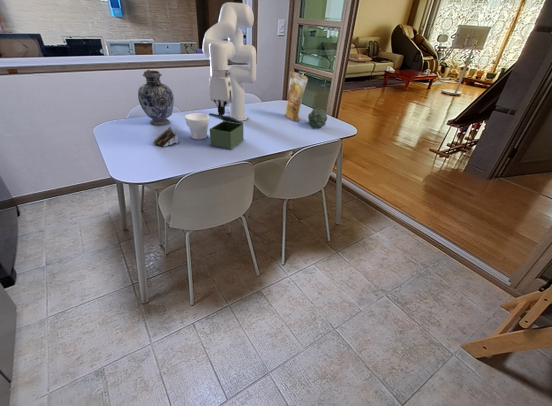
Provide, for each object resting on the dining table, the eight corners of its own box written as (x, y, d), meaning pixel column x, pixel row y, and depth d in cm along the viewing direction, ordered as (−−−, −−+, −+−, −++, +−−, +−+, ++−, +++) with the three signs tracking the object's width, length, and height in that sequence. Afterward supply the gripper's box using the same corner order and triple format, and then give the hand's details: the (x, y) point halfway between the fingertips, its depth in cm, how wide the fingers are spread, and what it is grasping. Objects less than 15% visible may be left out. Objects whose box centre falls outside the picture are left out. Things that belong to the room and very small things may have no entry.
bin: (231, 149, 144) (230, 133, 139) (210, 145, 147) (209, 128, 142) (243, 140, 156) (243, 124, 151) (224, 136, 159) (223, 120, 154)
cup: (185, 133, 159) (183, 113, 152) (208, 131, 163) (206, 112, 157) (189, 141, 149) (186, 120, 143) (213, 139, 154) (211, 119, 148)
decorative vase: (181, 125, 168) (175, 74, 153) (148, 130, 159) (138, 76, 144) (170, 115, 183) (163, 67, 167) (139, 119, 173) (128, 68, 158)
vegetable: (322, 118, 190) (334, 114, 176) (312, 134, 188) (323, 131, 174) (309, 106, 185) (320, 102, 171) (298, 123, 184) (308, 119, 170)
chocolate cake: (161, 150, 139) (176, 130, 140) (151, 143, 141) (166, 123, 141) (172, 156, 149) (186, 138, 149) (162, 149, 150) (176, 131, 151)
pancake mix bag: (290, 113, 202) (294, 70, 187) (304, 121, 188) (309, 76, 173) (282, 114, 200) (285, 70, 184) (295, 122, 186) (299, 76, 170)
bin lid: (230, 118, 136) (230, 117, 136) (209, 114, 139) (209, 113, 139) (243, 124, 151) (243, 122, 151) (223, 120, 153) (223, 119, 153)
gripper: (238, 74, 130) (239, 114, 140) (209, 70, 133) (212, 110, 143) (230, 76, 124) (231, 119, 134) (200, 72, 127) (203, 114, 137)
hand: (221, 114), depth 138 cm, fingers closed
